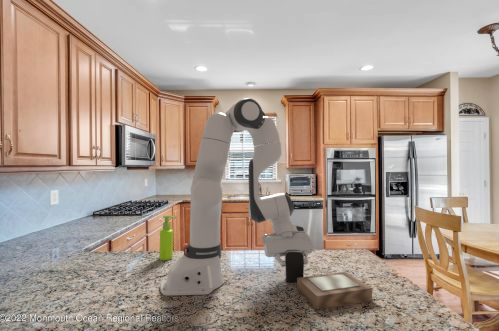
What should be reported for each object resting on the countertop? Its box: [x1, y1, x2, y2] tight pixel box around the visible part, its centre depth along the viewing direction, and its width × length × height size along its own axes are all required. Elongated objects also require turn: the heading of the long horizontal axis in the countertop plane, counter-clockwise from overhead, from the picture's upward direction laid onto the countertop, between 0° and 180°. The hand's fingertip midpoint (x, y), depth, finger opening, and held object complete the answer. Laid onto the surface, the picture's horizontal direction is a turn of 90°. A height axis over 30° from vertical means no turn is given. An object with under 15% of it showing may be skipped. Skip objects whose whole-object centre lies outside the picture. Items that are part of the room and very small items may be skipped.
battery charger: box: [284, 250, 305, 283], centre depth 91 cm, size 7×4×11 cm, turn 87°
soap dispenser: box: [158, 215, 176, 261], centre depth 114 cm, size 6×7×20 cm
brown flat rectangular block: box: [296, 271, 373, 310], centre depth 81 cm, size 20×13×4 cm, turn 106°
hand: (294, 265), depth 91 cm, fingers open, 8 cm apart
